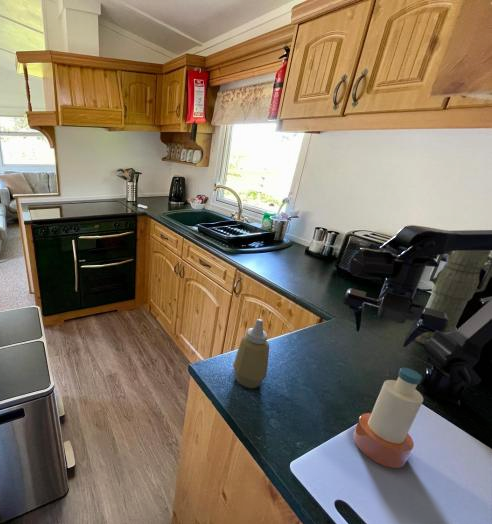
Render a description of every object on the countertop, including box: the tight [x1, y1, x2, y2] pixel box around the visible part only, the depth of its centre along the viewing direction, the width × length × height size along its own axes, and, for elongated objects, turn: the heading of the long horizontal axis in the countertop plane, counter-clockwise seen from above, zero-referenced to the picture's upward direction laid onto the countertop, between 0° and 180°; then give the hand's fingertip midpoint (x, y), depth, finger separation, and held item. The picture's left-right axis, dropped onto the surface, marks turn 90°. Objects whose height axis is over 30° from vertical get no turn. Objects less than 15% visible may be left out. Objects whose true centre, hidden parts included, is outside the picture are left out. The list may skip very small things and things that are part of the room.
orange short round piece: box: [352, 412, 415, 469], centre depth 57 cm, size 8×8×4 cm
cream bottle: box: [368, 367, 424, 444], centre depth 54 cm, size 6×6×14 cm
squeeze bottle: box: [232, 318, 270, 389], centre depth 71 cm, size 8×8×18 cm
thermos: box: [413, 251, 492, 346], centre depth 89 cm, size 9×12×35 cm
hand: (380, 338), depth 72 cm, fingers open, 9 cm apart
